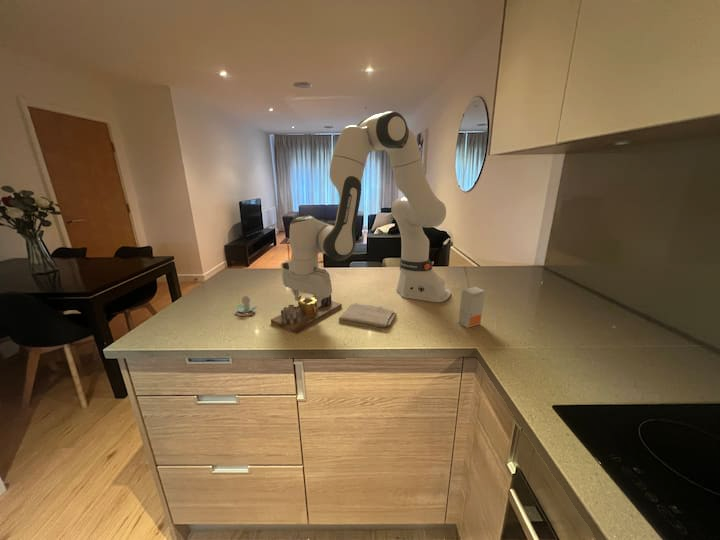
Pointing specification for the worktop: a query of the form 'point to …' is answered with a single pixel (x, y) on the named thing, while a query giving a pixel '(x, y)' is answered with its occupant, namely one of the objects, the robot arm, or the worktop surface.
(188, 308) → the worktop surface
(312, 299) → the brass gear
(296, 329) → the gear board
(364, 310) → the washcloth
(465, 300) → the skincare box
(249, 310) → the pacifier
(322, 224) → the robot arm
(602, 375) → the worktop surface
